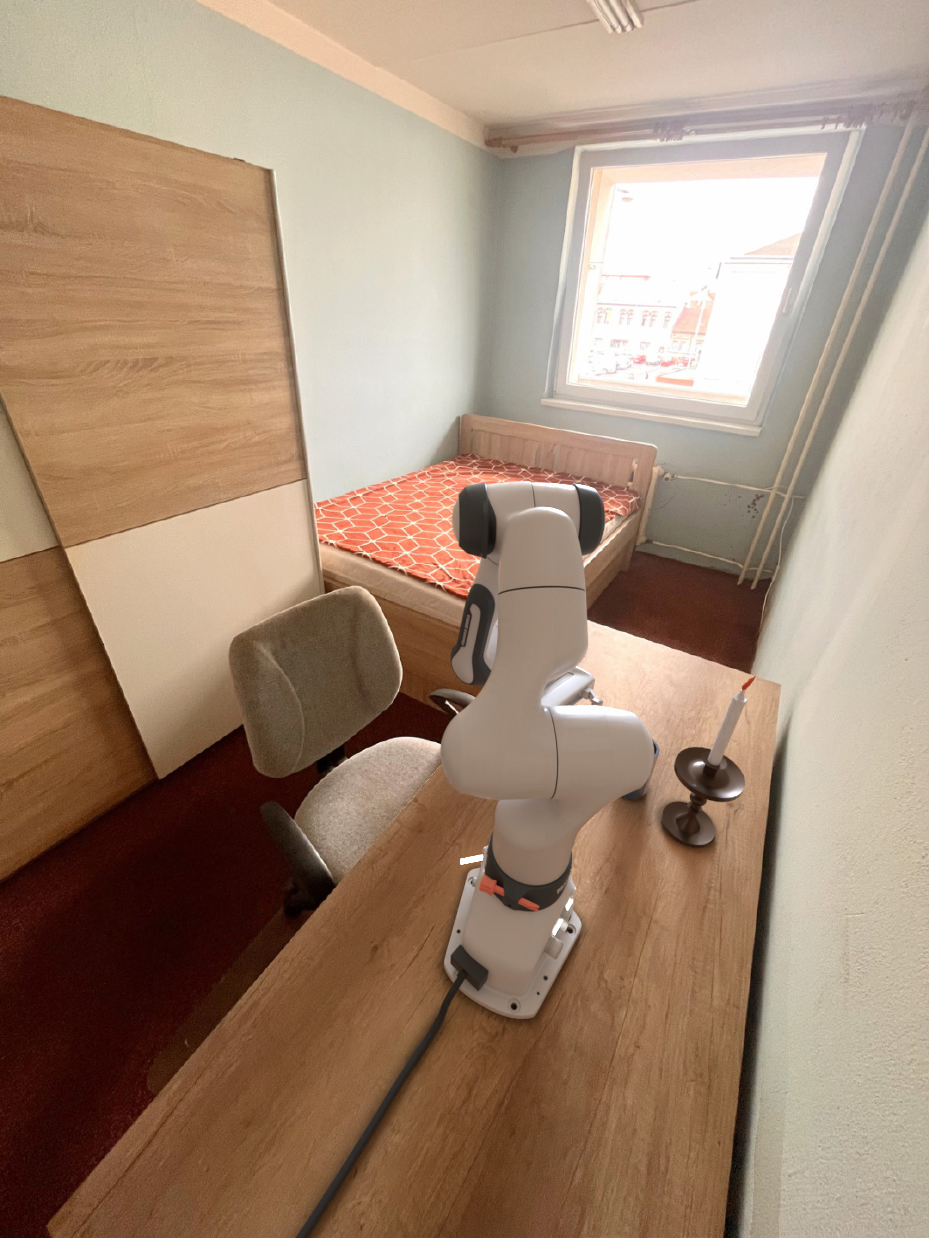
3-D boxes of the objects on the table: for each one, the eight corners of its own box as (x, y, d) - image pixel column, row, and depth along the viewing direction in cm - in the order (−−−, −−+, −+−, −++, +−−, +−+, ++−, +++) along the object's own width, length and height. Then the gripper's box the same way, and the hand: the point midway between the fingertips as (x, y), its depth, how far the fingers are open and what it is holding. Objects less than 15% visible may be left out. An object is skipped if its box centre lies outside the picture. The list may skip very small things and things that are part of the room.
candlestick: (727, 824, 93) (800, 673, 74) (706, 864, 86) (780, 709, 67) (670, 790, 99) (724, 643, 80) (645, 826, 92) (698, 674, 73)
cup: (643, 804, 96) (656, 764, 90) (608, 791, 98) (619, 751, 92) (648, 780, 101) (661, 740, 95) (615, 768, 103) (626, 728, 97)
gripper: (502, 692, 101) (557, 729, 93) (563, 653, 113) (617, 682, 105) (500, 716, 104) (553, 753, 96) (560, 675, 117) (612, 705, 108)
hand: (587, 716), depth 101 cm, fingers open, 8 cm apart
